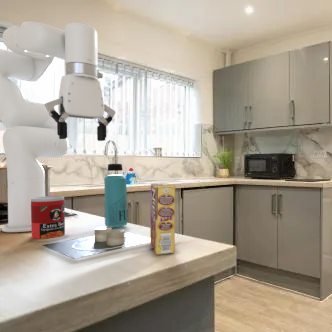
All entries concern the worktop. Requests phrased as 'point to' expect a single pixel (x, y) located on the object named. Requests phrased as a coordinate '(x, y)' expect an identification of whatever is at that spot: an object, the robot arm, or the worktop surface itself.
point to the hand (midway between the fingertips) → (83, 139)
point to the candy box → (162, 218)
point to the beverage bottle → (115, 198)
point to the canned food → (47, 217)
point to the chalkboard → (93, 245)
